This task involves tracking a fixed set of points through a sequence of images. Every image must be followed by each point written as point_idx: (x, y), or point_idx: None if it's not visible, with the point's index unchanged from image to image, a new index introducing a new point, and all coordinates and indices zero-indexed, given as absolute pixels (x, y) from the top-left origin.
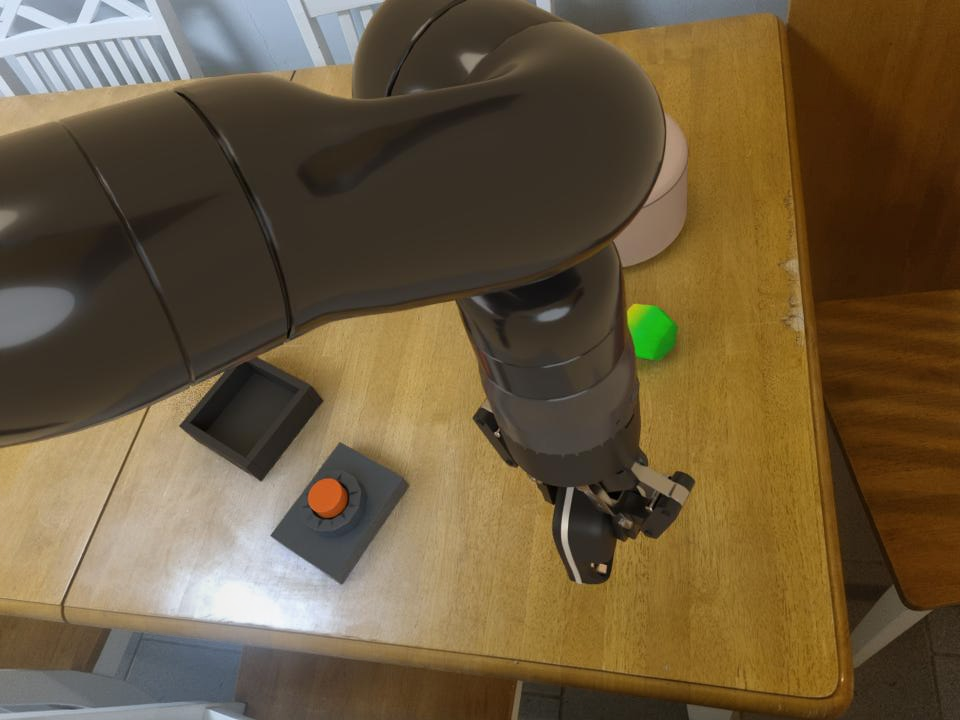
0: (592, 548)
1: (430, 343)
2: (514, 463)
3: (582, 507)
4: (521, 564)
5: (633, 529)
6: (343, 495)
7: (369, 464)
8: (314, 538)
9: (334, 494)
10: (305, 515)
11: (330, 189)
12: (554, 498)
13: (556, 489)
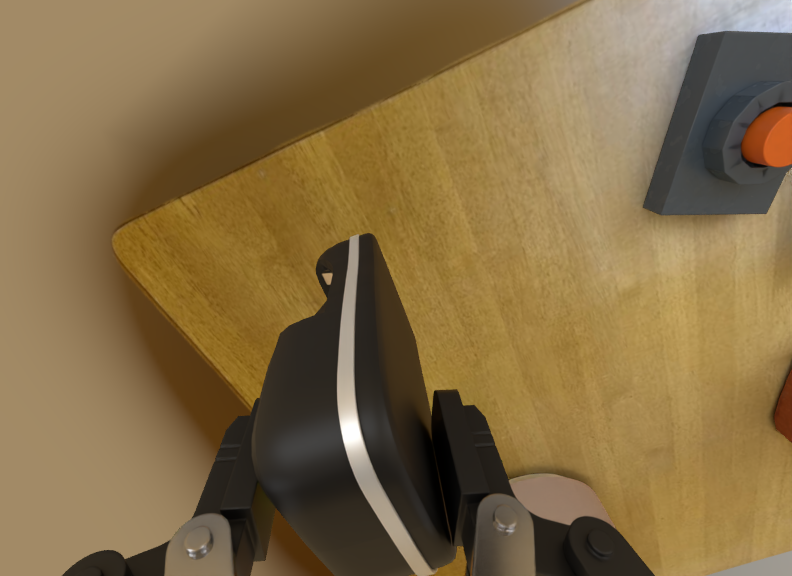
0: (279, 393)
1: (670, 355)
2: (586, 560)
3: (336, 507)
4: (468, 192)
5: (210, 481)
6: (756, 152)
7: (714, 207)
8: (772, 71)
9: (775, 147)
10: None
11: None
12: (439, 412)
13: (441, 441)
